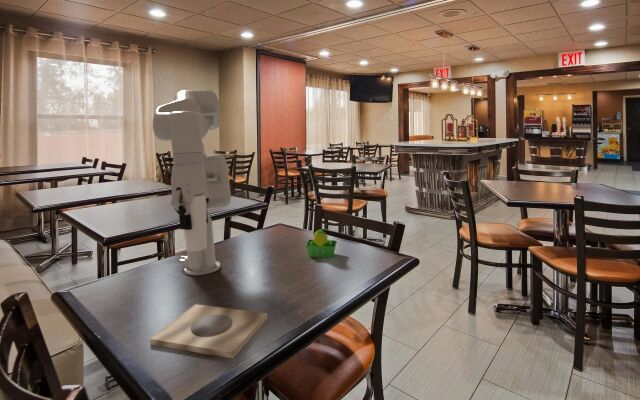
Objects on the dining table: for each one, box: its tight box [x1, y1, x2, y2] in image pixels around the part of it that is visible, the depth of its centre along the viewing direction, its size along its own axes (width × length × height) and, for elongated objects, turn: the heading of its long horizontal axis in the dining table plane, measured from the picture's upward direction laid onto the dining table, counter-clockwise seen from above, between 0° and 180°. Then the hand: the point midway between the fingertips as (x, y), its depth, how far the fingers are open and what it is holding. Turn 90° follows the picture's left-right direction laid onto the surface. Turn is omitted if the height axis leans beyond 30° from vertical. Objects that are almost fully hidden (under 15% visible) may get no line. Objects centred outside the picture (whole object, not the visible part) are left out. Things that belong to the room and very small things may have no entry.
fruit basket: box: [305, 229, 338, 259], centre depth 146 cm, size 11×9×11 cm
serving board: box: [149, 303, 268, 359], centre depth 95 cm, size 22×18×2 cm
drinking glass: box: [182, 194, 207, 252], centre depth 102 cm, size 7×7×15 cm
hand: (194, 225), depth 102 cm, fingers closed on drinking glass, 6 cm apart
